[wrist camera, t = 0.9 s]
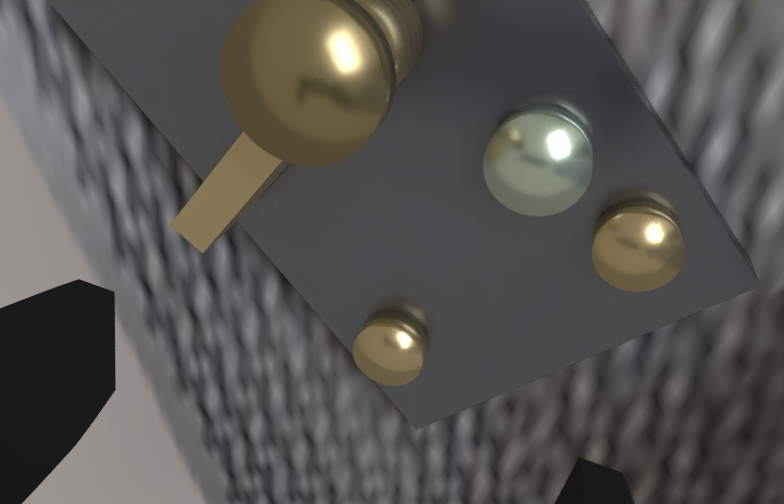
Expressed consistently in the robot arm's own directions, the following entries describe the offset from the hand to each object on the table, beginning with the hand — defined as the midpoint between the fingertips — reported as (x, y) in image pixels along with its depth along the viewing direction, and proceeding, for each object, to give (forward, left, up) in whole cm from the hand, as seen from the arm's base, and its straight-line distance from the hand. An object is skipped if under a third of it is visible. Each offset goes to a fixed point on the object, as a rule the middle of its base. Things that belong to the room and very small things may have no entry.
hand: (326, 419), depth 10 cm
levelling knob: (+4, +1, -8) cm, 9 cm away
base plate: (+2, 0, -9) cm, 10 cm away
